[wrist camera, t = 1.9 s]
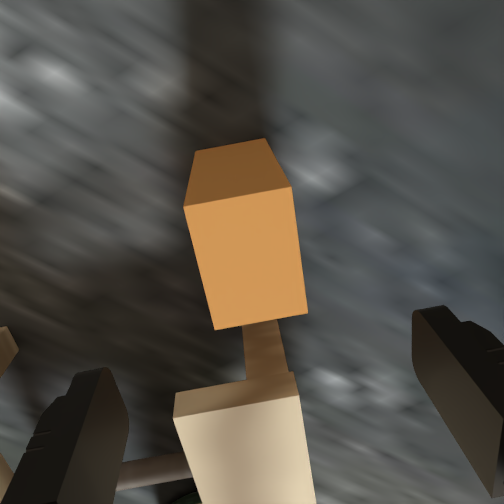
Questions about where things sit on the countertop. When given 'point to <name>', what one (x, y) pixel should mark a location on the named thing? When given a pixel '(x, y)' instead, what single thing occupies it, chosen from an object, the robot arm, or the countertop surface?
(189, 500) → the coffee jar
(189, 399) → the cream u-shaped stand
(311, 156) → the countertop surface
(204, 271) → the tan wooden post
